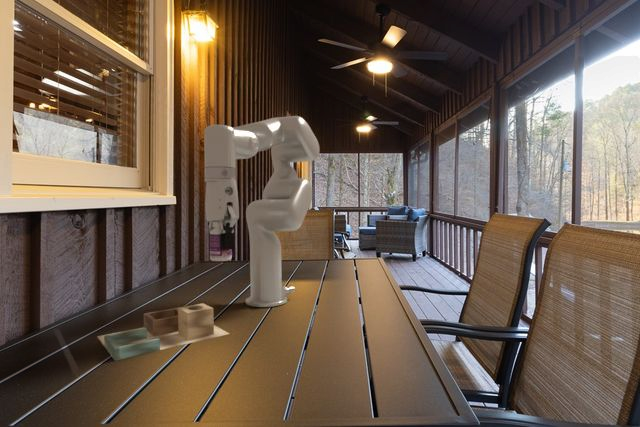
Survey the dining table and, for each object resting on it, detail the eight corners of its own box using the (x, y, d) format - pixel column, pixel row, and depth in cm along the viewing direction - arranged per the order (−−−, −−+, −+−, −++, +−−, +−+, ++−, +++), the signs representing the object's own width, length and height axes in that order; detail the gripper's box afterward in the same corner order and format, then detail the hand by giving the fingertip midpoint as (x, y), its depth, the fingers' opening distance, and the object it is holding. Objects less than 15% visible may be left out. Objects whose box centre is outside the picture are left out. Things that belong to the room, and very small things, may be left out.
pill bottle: (226, 261, 98) (226, 221, 97) (206, 261, 99) (205, 221, 98) (235, 258, 103) (235, 221, 103) (216, 258, 104) (215, 220, 104)
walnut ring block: (177, 321, 102) (176, 307, 102) (188, 329, 96) (188, 314, 96) (144, 327, 97) (143, 313, 97) (154, 336, 91) (153, 321, 91)
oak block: (203, 328, 97) (202, 302, 97) (213, 334, 92) (213, 308, 92) (178, 333, 93) (177, 307, 93) (188, 340, 88) (187, 312, 88)
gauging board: (199, 319, 107) (199, 308, 106) (229, 337, 93) (229, 324, 92) (97, 339, 92) (96, 326, 92) (115, 364, 78) (114, 349, 77)
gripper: (250, 174, 96) (251, 250, 96) (219, 178, 109) (220, 245, 110) (221, 172, 91) (222, 252, 92) (192, 177, 105) (193, 247, 105)
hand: (221, 247), depth 101 cm, fingers closed on pill bottle, 5 cm apart
